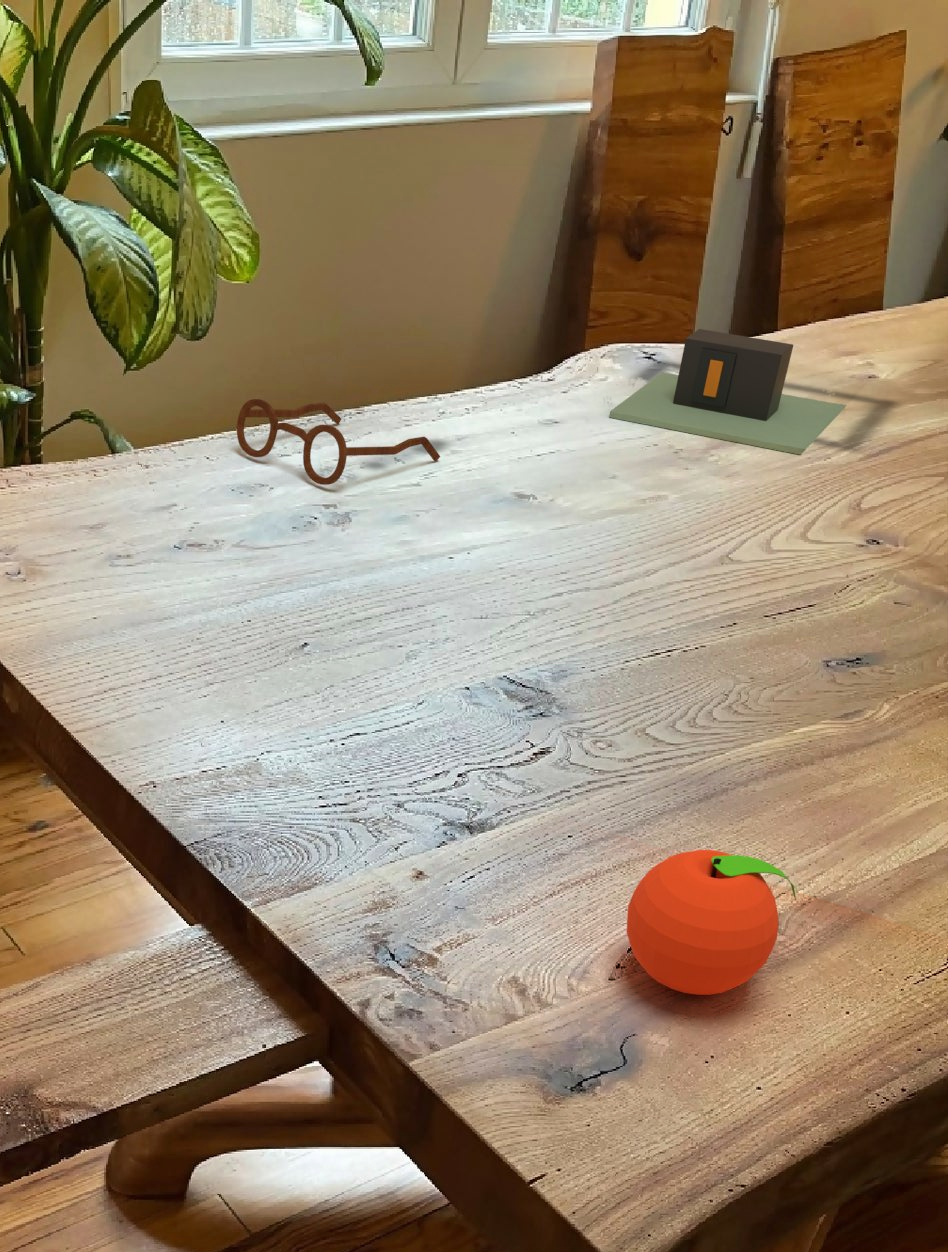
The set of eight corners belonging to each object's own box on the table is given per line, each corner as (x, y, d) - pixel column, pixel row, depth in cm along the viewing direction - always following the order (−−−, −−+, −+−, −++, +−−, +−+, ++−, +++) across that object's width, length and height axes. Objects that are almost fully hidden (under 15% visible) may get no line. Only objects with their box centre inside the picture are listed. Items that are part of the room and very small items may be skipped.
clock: (793, 344, 137) (699, 328, 140) (780, 355, 134) (684, 339, 137) (777, 410, 140) (685, 393, 144) (764, 422, 137) (671, 404, 141)
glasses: (232, 453, 130) (233, 395, 127) (338, 423, 137) (341, 367, 134) (336, 496, 122) (340, 435, 119) (442, 461, 129) (449, 403, 126)
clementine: (742, 929, 75) (777, 812, 71) (804, 1016, 70) (846, 895, 66) (593, 942, 74) (619, 823, 70) (645, 1031, 69) (676, 908, 65)
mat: (883, 418, 141) (885, 412, 140) (844, 463, 131) (846, 456, 130) (660, 378, 150) (662, 372, 149) (608, 417, 140) (609, 411, 139)
